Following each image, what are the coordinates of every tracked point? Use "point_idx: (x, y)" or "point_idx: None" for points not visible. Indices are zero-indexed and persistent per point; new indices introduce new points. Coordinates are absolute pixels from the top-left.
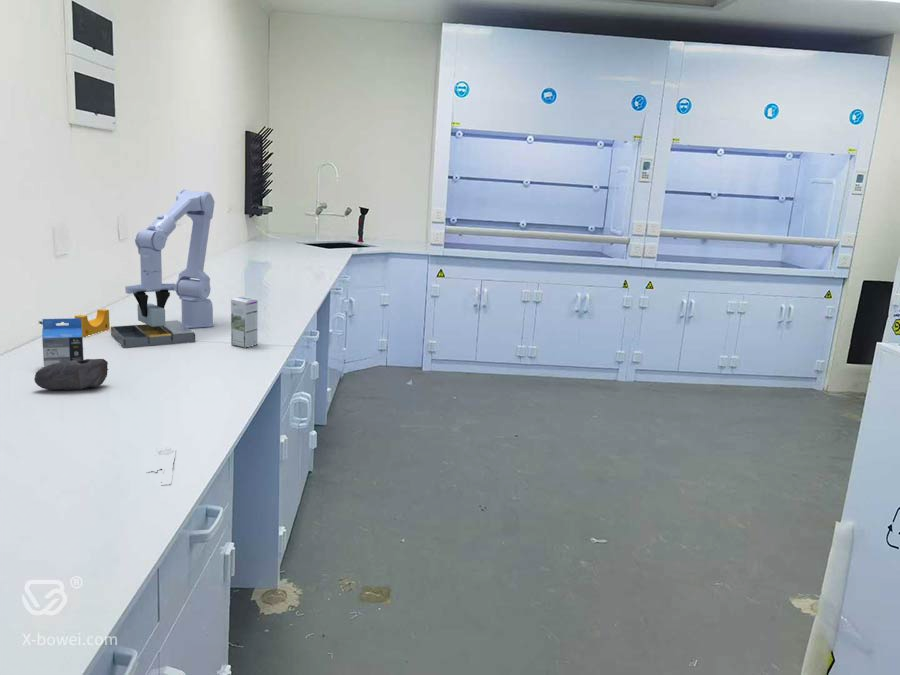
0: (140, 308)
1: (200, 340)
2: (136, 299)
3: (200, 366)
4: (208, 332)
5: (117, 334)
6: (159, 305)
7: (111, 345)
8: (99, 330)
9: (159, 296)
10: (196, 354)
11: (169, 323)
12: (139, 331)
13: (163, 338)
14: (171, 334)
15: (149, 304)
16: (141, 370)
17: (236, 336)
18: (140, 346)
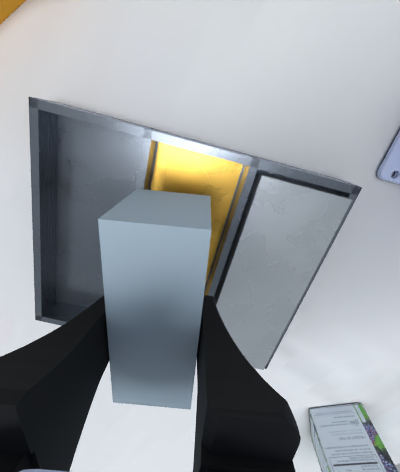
0: (87, 310)
1: (285, 338)
2: (21, 351)
3: (151, 466)
4: (390, 272)
5: (36, 236)
6: (200, 357)
7: (26, 255)
8: (6, 4)
9: (198, 432)
10: (190, 419)
11: (276, 239)
12: None
13: None
14: None
15: (177, 269)
16: None
17: (319, 453)
18: None
